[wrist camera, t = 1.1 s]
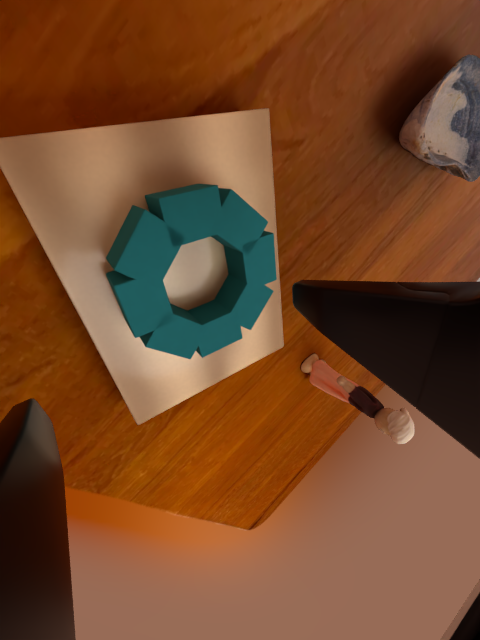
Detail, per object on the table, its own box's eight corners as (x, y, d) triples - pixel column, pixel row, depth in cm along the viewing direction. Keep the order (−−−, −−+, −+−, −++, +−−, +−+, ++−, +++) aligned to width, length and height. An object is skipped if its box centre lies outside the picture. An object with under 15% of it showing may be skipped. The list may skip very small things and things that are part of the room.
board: (128, 401, 23) (137, 425, 21) (-5, 144, 13) (-16, 139, 11) (265, 332, 28) (284, 346, 26) (242, 115, 18) (269, 107, 16)
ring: (143, 362, 19) (153, 382, 17) (77, 209, 13) (82, 215, 12) (260, 308, 22) (279, 320, 21) (246, 172, 17) (269, 173, 15)
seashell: (383, 236, 32) (427, 245, 29) (363, 124, 24) (421, 115, 20) (462, 153, 34) (514, 151, 30) (468, 22, 26) (540, -3, 22)
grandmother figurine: (289, 374, 33) (387, 454, 24) (306, 347, 33) (411, 418, 24) (321, 383, 38) (412, 453, 29) (336, 360, 38) (433, 423, 29)
